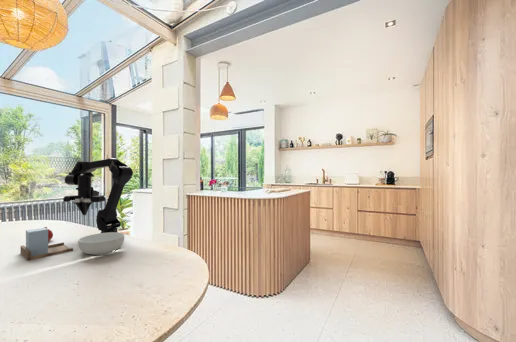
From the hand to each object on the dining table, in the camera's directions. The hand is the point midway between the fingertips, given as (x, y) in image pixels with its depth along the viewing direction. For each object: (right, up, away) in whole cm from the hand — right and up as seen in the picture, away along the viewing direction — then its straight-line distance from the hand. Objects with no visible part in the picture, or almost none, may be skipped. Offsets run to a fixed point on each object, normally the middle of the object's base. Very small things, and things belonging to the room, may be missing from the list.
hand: (84, 215), depth 127 cm
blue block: (-1, -11, -26) cm, 29 cm away
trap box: (+1, -12, -24) cm, 27 cm away
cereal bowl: (+23, -13, -22) cm, 34 cm away
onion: (-12, -12, -10) cm, 20 cm away
